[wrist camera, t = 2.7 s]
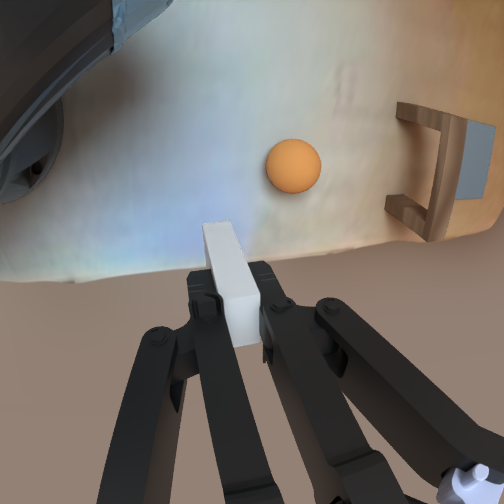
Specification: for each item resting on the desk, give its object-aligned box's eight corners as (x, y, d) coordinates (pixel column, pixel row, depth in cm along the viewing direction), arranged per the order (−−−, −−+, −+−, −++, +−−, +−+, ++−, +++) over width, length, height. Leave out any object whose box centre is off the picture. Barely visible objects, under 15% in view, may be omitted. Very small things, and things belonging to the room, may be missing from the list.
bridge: (384, 209, 40) (427, 242, 32) (397, 101, 32) (451, 115, 24) (401, 207, 40) (444, 239, 32) (414, 104, 33) (467, 119, 25)
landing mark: (435, 200, 41) (436, 200, 41) (448, 116, 34) (449, 116, 34) (481, 197, 44) (482, 198, 43) (494, 126, 37) (495, 127, 37)
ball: (259, 185, 34) (275, 204, 29) (259, 135, 31) (275, 146, 26) (307, 181, 35) (328, 199, 30) (309, 134, 32) (332, 144, 28)
